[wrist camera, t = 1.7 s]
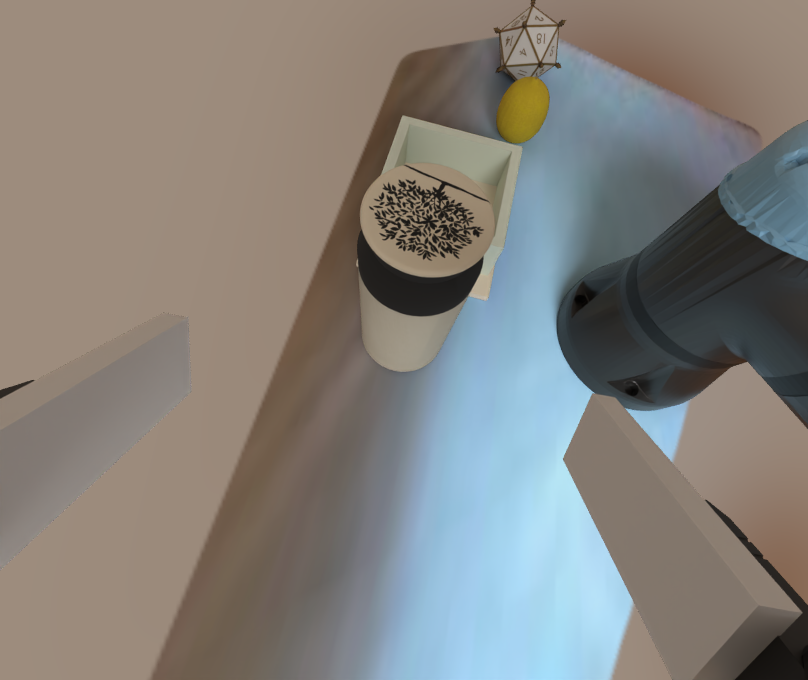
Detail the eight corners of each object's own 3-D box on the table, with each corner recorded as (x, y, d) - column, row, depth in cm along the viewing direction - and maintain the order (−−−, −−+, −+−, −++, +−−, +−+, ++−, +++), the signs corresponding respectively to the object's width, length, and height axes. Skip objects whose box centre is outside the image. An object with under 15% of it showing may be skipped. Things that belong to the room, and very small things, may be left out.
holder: (399, 143, 46) (403, 98, 41) (511, 172, 46) (530, 131, 41) (356, 266, 40) (354, 232, 34) (486, 301, 40) (504, 272, 34)
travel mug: (414, 388, 36) (453, 306, 19) (345, 342, 37) (324, 225, 20) (457, 325, 38) (525, 203, 22) (391, 283, 39) (408, 136, 23)
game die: (502, 112, 55) (490, 73, 46) (494, 53, 55) (480, 1, 45) (570, 89, 51) (570, 41, 42) (561, 25, 51) (561, -37, 42)
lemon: (524, 164, 47) (553, 103, 39) (482, 148, 47) (503, 84, 40) (536, 134, 49) (566, 71, 41) (496, 119, 49) (518, 53, 41)
